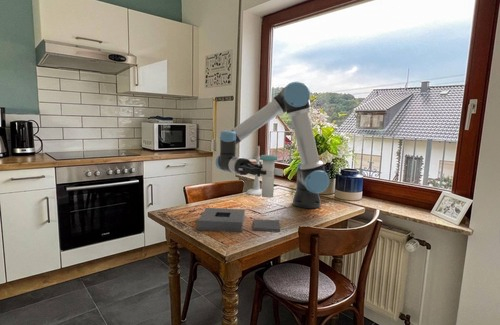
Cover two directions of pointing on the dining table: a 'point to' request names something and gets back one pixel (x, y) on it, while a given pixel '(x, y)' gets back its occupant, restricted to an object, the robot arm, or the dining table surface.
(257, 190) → the candlestick
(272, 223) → the pad
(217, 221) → the block
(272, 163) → the teal capped tube
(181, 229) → the dining table surface
